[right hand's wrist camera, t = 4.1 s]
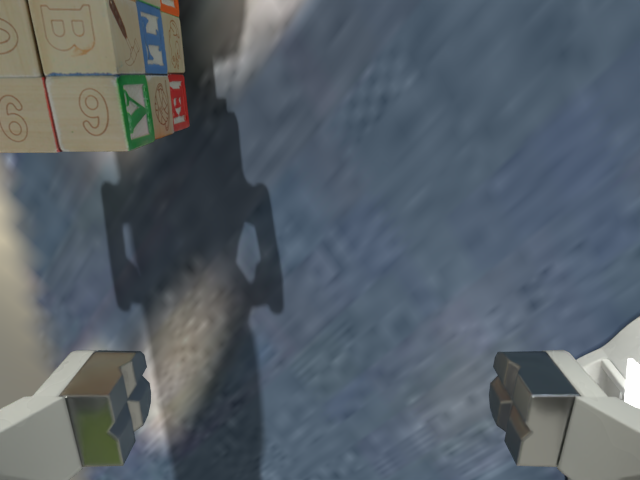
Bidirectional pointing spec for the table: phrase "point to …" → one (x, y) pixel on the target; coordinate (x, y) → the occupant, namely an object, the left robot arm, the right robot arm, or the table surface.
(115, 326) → the table surface
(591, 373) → the right robot arm
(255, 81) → the table surface
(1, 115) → the stack of blocks
